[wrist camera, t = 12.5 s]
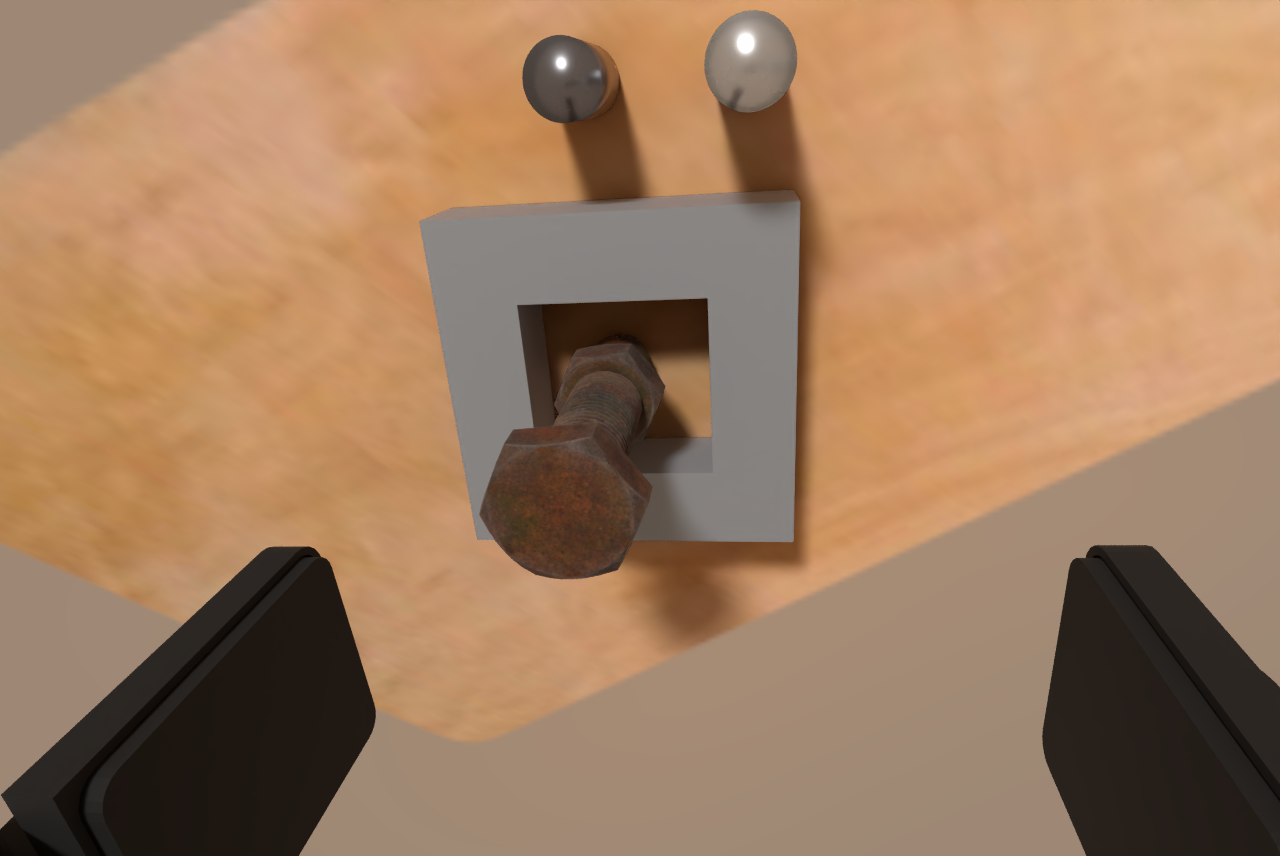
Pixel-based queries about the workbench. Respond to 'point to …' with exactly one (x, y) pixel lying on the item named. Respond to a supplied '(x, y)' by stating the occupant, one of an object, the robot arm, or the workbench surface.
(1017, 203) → the workbench surface
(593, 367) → the bolt
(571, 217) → the frame
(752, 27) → the pin mid
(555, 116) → the pin short
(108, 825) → the robot arm
